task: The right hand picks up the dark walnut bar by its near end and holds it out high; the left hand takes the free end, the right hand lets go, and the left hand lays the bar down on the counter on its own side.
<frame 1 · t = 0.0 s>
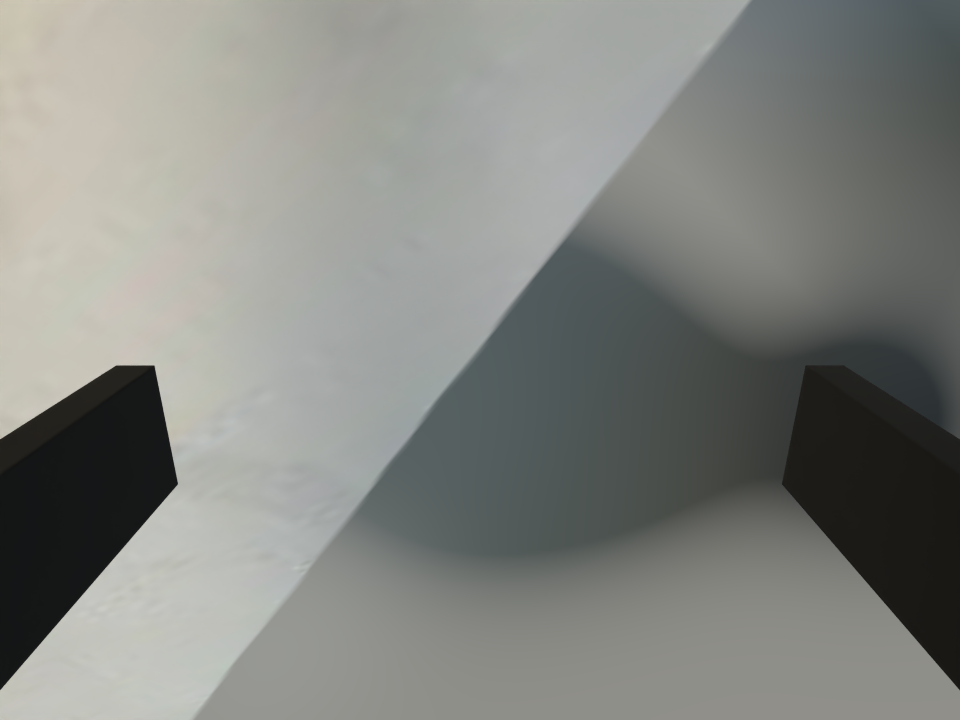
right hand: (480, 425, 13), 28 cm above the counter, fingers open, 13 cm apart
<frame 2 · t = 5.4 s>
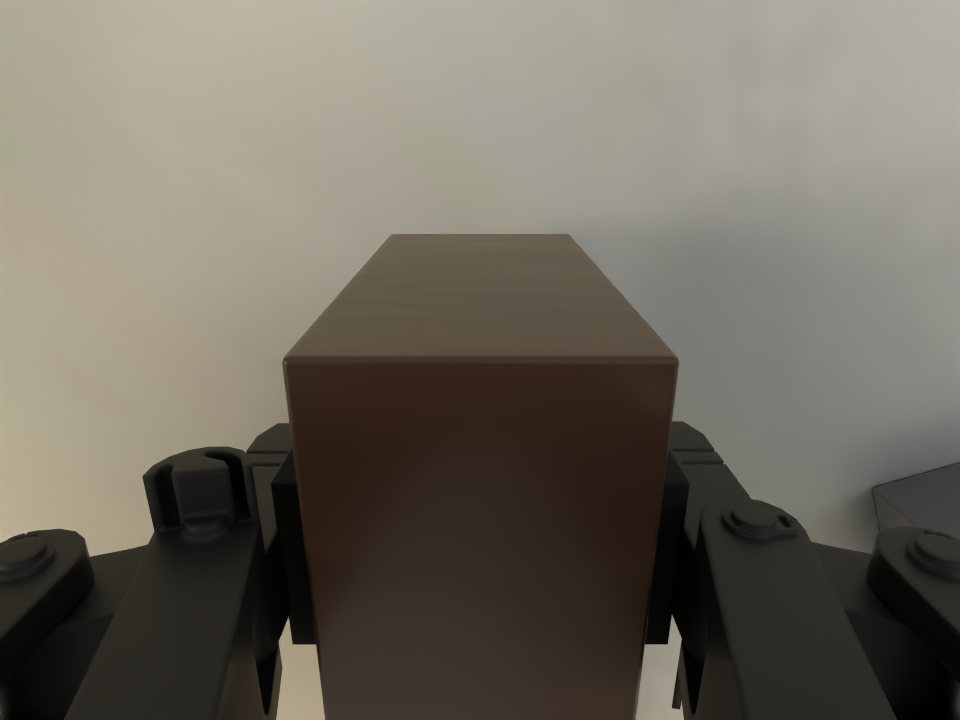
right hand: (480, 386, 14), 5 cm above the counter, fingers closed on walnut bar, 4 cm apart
slate block: (955, 525, 21), on the counter
walnut bar: (479, 649, 18), point 4 cm above the counter, touching right hand
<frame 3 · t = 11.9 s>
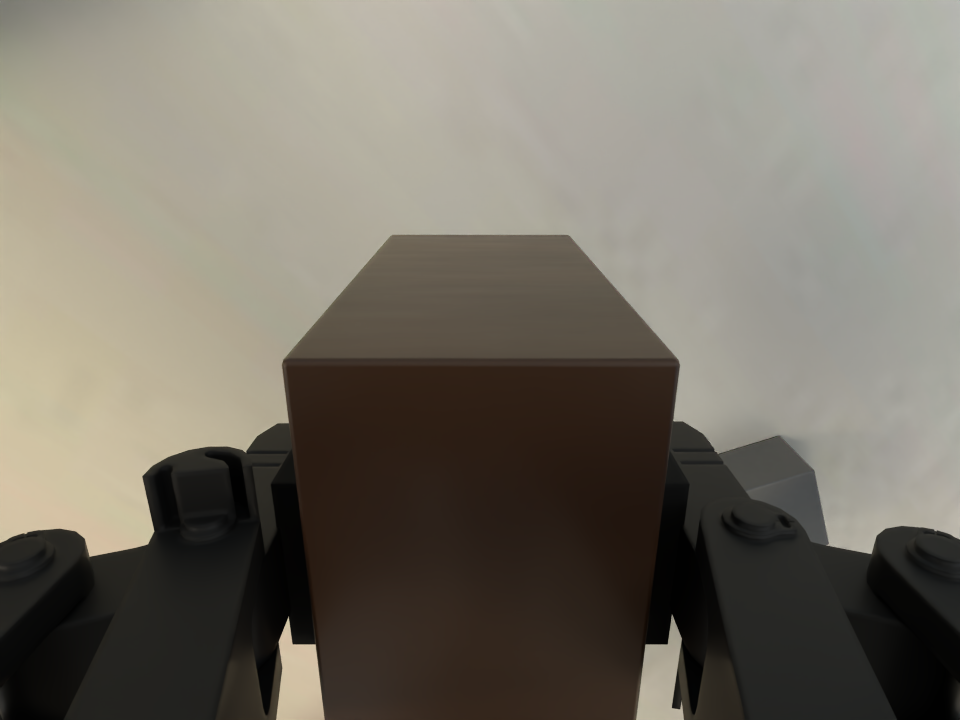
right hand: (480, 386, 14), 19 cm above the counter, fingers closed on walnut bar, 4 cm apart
slate block: (745, 482, 37), on the counter
walnut bar: (479, 650, 18), point 18 cm above the counter, touching right hand, left hand
when the right hand's fingers open (19 cm above the counter, at t = 12.6 s): walnut bar stays where it is, held by the left hand.
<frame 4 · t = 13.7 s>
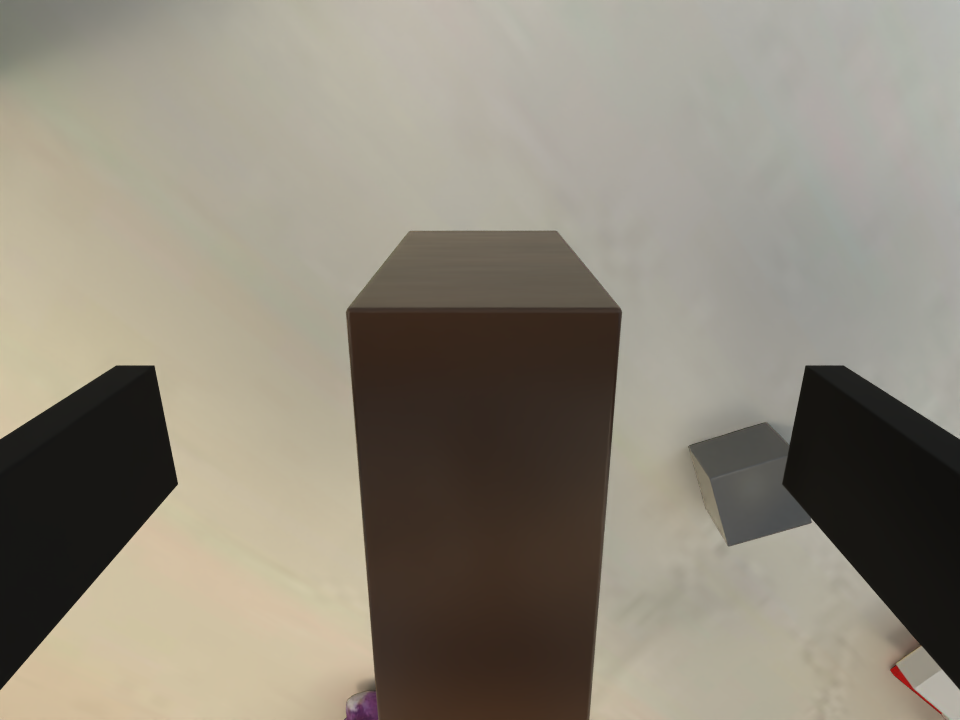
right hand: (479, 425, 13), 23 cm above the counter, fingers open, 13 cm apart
slate block: (735, 466, 39), on the counter
walnut bar: (483, 594, 20), point 18 cm above the counter, touching left hand
when the left hand's fingers open (5 cm above the counter, at t = 22.0 s): walnut bar stays where it is, on the counter.
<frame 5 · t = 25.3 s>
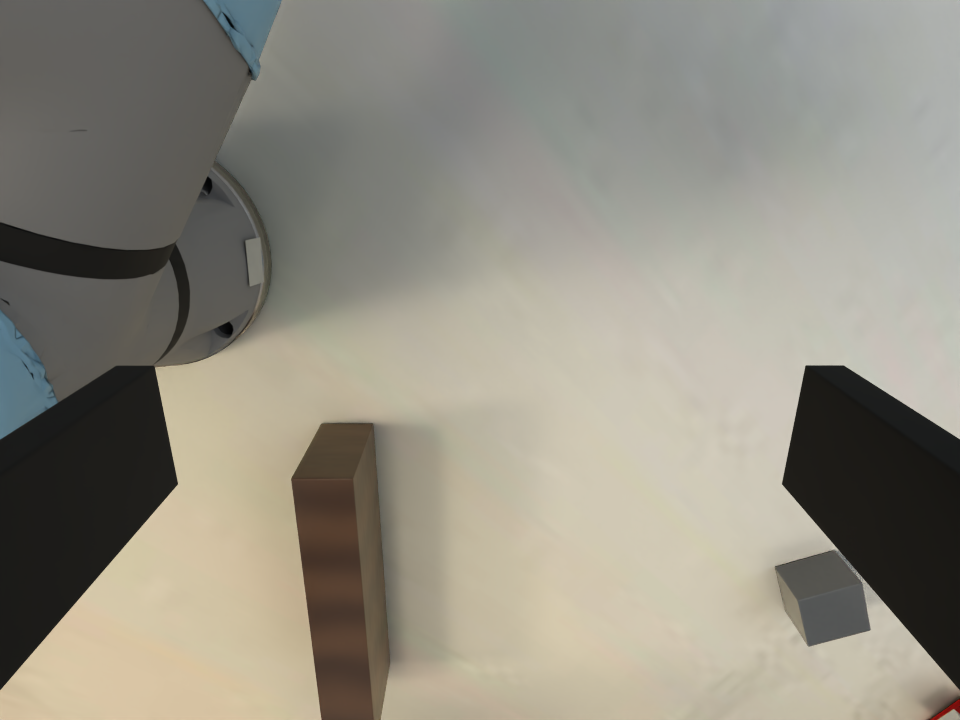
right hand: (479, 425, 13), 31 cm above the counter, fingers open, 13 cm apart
slate block: (809, 581, 52), on the counter
walnut bar: (358, 553, 51), on the counter
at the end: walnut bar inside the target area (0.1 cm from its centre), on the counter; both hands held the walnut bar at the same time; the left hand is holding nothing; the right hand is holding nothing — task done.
